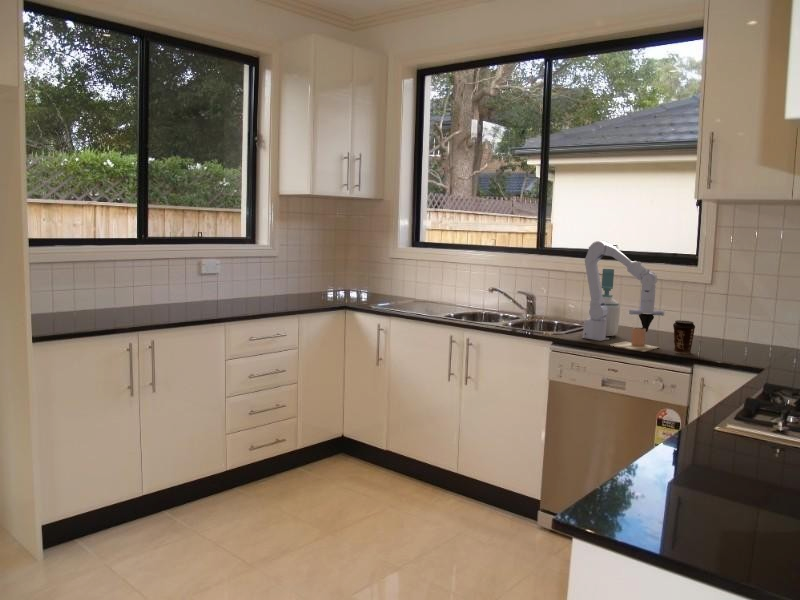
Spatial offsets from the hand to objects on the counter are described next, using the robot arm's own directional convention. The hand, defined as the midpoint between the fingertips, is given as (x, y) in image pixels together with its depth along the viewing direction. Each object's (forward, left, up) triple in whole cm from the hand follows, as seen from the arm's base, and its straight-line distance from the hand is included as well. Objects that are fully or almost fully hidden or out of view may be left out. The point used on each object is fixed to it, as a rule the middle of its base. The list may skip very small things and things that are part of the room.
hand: (645, 331), depth 298 cm
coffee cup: (+18, -3, -6) cm, 19 cm away
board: (0, -9, -6) cm, 11 cm away
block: (0, -6, -5) cm, 8 cm away
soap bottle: (-24, +8, -6) cm, 26 cm away
